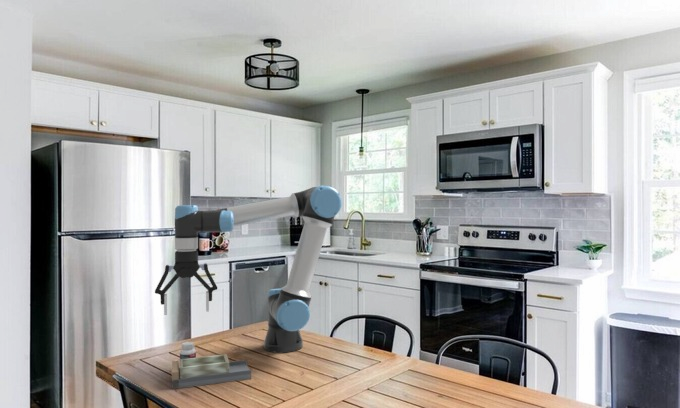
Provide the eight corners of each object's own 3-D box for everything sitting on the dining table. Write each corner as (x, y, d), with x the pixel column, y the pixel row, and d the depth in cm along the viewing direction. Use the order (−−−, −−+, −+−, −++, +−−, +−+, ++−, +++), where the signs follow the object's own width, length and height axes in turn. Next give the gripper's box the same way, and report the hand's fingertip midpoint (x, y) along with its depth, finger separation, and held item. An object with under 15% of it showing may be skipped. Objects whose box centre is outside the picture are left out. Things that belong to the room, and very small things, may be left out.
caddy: (226, 366, 158) (226, 354, 158) (229, 375, 150) (229, 362, 150) (179, 371, 153) (179, 359, 153) (179, 381, 145) (179, 368, 145)
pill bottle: (191, 372, 157) (190, 346, 157) (176, 371, 158) (176, 345, 158) (198, 367, 162) (198, 341, 162) (185, 366, 164) (184, 340, 164)
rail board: (246, 367, 161) (246, 353, 161) (251, 378, 151) (250, 363, 151) (172, 376, 154) (172, 361, 154) (171, 389, 143) (171, 372, 143)
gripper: (222, 248, 168) (223, 307, 168) (147, 250, 160) (148, 312, 160) (224, 249, 161) (225, 311, 161) (146, 252, 153) (146, 317, 153)
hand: (186, 312), depth 160 cm, fingers open, 13 cm apart
